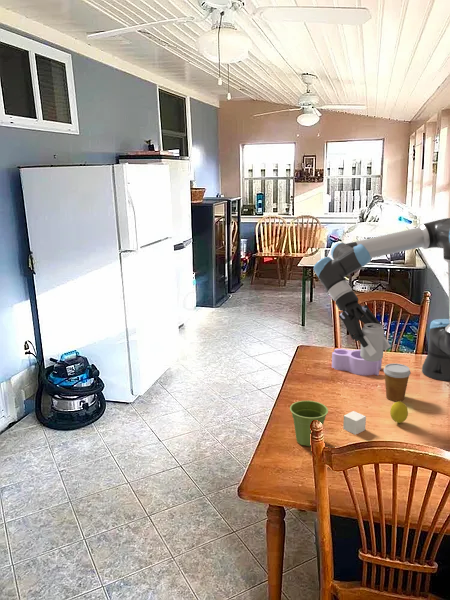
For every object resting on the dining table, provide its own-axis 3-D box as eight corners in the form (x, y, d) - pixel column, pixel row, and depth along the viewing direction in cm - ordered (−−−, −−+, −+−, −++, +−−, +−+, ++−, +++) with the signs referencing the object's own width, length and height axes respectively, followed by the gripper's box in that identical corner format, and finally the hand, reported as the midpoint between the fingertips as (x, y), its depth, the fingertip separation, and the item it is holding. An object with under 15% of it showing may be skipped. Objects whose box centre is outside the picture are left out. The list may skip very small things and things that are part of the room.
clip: (329, 371, 212) (329, 355, 210) (336, 360, 223) (336, 346, 221) (377, 378, 204) (378, 362, 202) (382, 367, 214) (383, 352, 213)
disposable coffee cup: (414, 400, 183) (416, 370, 180) (392, 405, 180) (394, 374, 177) (397, 390, 191) (399, 361, 188) (376, 394, 188) (378, 365, 185)
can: (367, 352, 176) (369, 320, 173) (387, 358, 171) (389, 324, 168) (355, 358, 171) (357, 325, 168) (375, 364, 166) (377, 330, 163)
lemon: (408, 427, 164) (409, 405, 162) (390, 426, 165) (392, 404, 163) (405, 419, 169) (407, 398, 167) (388, 418, 170) (390, 397, 168)
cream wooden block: (352, 424, 167) (353, 410, 166) (365, 430, 164) (365, 416, 162) (343, 429, 164) (343, 415, 163) (355, 435, 161) (356, 421, 159)
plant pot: (313, 455, 150) (314, 421, 147) (282, 442, 158) (282, 409, 155) (334, 439, 158) (335, 407, 155) (303, 427, 166) (303, 396, 163)
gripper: (355, 297, 184) (390, 349, 176) (318, 307, 172) (355, 364, 164) (367, 285, 179) (405, 338, 171) (330, 295, 167) (369, 353, 159)
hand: (380, 351), depth 167 cm, fingers closed on can, 7 cm apart
